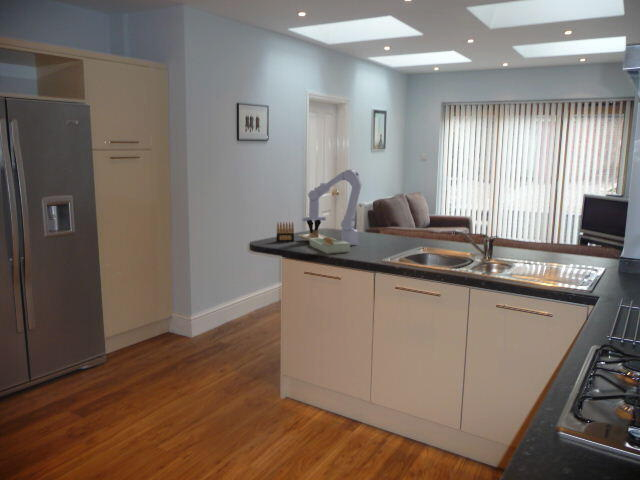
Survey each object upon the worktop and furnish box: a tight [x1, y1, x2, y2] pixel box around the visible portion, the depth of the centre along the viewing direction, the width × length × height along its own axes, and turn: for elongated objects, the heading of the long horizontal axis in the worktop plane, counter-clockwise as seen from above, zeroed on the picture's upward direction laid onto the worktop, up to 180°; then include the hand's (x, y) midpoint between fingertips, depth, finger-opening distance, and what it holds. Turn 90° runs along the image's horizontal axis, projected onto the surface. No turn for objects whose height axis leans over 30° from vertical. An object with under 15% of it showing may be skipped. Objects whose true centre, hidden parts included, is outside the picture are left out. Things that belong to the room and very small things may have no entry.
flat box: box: [309, 237, 351, 255], centre depth 294 cm, size 14×24×5 cm, turn 24°
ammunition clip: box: [275, 221, 295, 243], centre depth 313 cm, size 11×2×12 cm, turn 102°
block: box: [324, 236, 333, 245], centre depth 282 cm, size 3×6×3 cm, turn 24°
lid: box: [297, 229, 328, 242], centre depth 314 cm, size 14×16×4 cm
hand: (313, 232), depth 314 cm, fingers closed on lid, 2 cm apart
